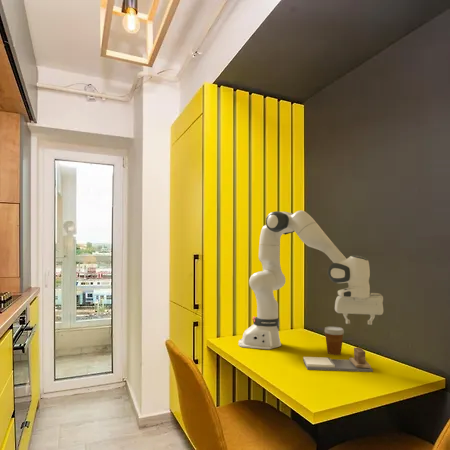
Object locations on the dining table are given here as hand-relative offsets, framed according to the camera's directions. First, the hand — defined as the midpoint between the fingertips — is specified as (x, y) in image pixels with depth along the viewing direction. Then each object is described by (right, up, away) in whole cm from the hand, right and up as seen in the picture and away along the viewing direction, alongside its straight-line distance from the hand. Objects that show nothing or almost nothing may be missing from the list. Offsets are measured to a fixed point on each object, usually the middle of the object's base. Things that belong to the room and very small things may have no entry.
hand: (358, 324), depth 156 cm
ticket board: (-10, -18, -1) cm, 21 cm away
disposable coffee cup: (-5, -20, +18) cm, 27 cm away
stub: (0, -17, -1) cm, 17 cm away
